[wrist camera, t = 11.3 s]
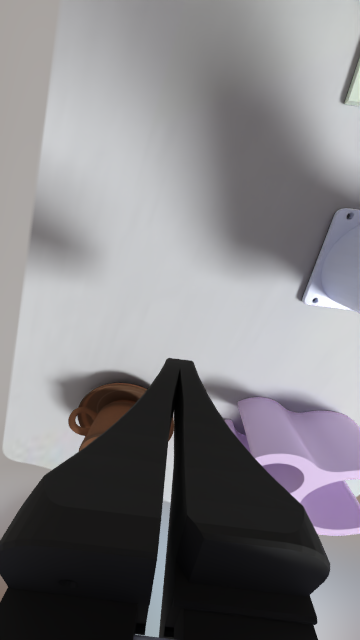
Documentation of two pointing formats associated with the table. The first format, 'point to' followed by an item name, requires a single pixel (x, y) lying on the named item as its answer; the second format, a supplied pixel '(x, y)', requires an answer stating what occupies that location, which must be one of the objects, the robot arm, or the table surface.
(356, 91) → the mat
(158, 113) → the table surface
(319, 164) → the table surface
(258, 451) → the clip
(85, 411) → the cup and saucer
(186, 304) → the table surface
